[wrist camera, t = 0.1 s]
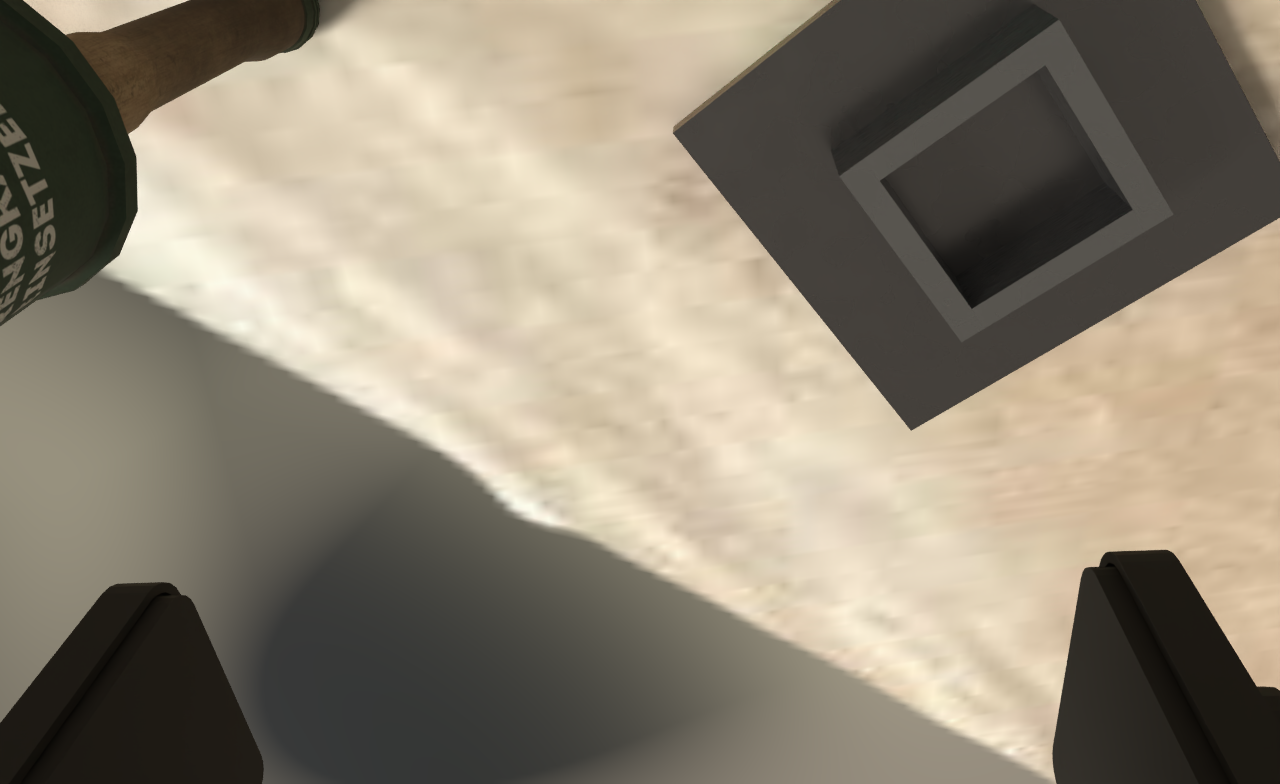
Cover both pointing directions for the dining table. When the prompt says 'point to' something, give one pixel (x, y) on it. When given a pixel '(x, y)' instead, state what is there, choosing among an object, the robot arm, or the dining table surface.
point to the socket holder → (985, 174)
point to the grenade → (103, 124)
